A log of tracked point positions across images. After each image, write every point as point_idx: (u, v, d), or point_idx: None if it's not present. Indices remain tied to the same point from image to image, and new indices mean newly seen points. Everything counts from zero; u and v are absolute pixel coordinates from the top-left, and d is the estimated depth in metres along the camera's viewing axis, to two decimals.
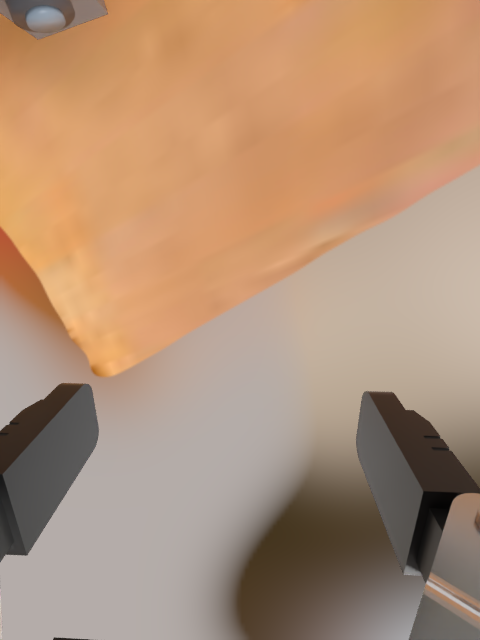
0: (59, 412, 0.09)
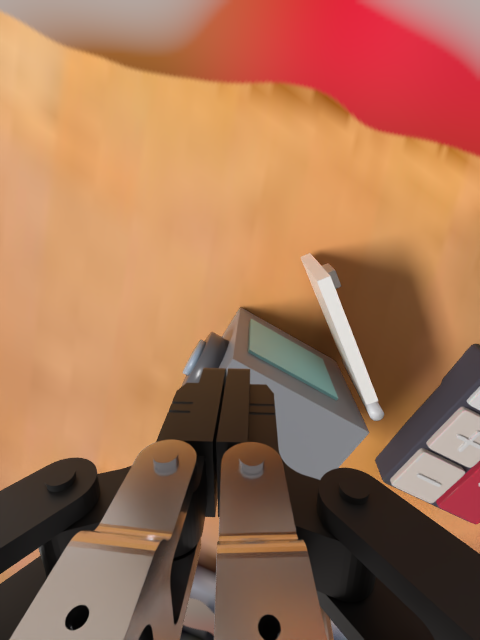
0: (221, 391, 0.09)
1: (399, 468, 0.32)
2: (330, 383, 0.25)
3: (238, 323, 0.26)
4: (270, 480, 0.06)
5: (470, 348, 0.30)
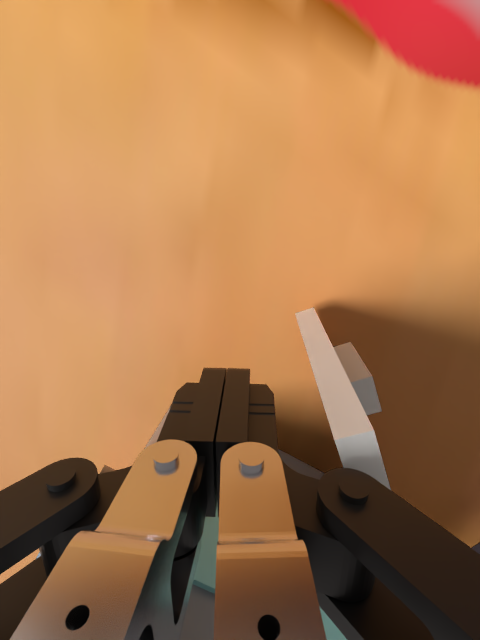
0: (221, 392, 0.09)
1: None
2: None
3: None
4: (269, 480, 0.06)
5: None
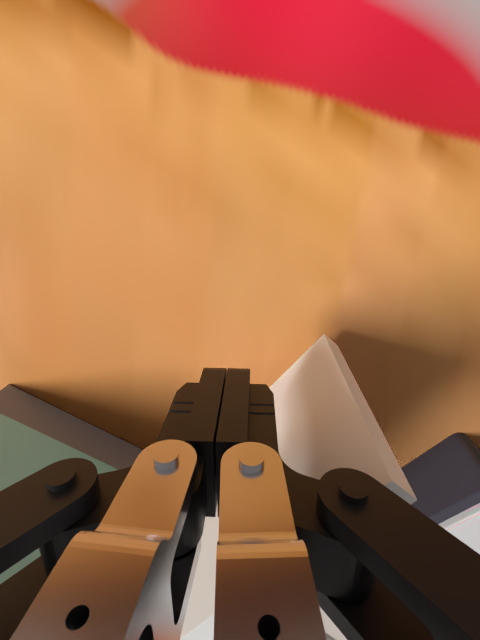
0: (221, 392, 0.09)
1: None
2: None
3: None
4: (269, 480, 0.06)
5: (451, 438, 0.17)
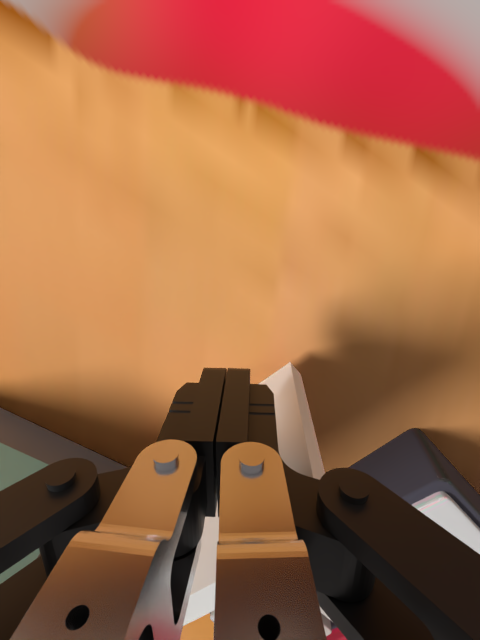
0: (221, 392, 0.09)
1: None
2: (24, 566, 0.13)
3: None
4: (270, 480, 0.06)
5: (406, 433, 0.17)
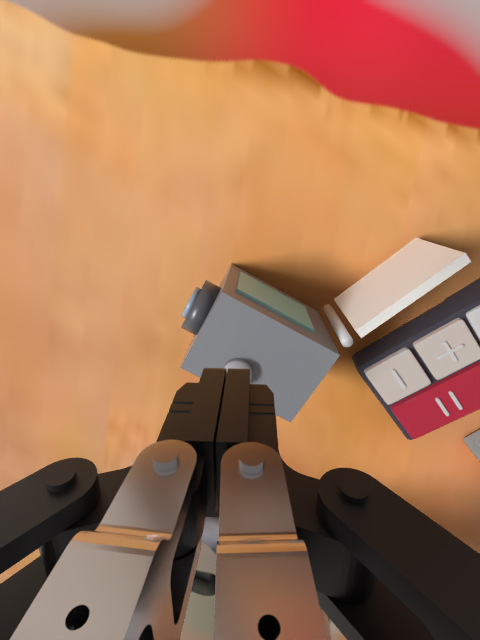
0: (221, 392, 0.09)
1: (378, 360, 0.34)
2: (309, 321, 0.29)
3: (229, 273, 0.30)
4: (270, 480, 0.06)
5: None
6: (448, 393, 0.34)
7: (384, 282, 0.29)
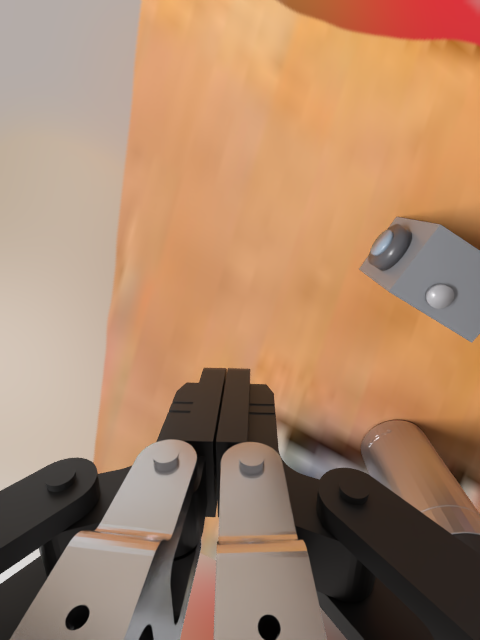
0: (221, 392, 0.09)
1: None
2: None
3: (411, 219, 0.36)
4: (270, 480, 0.06)
5: None
6: None
7: None
